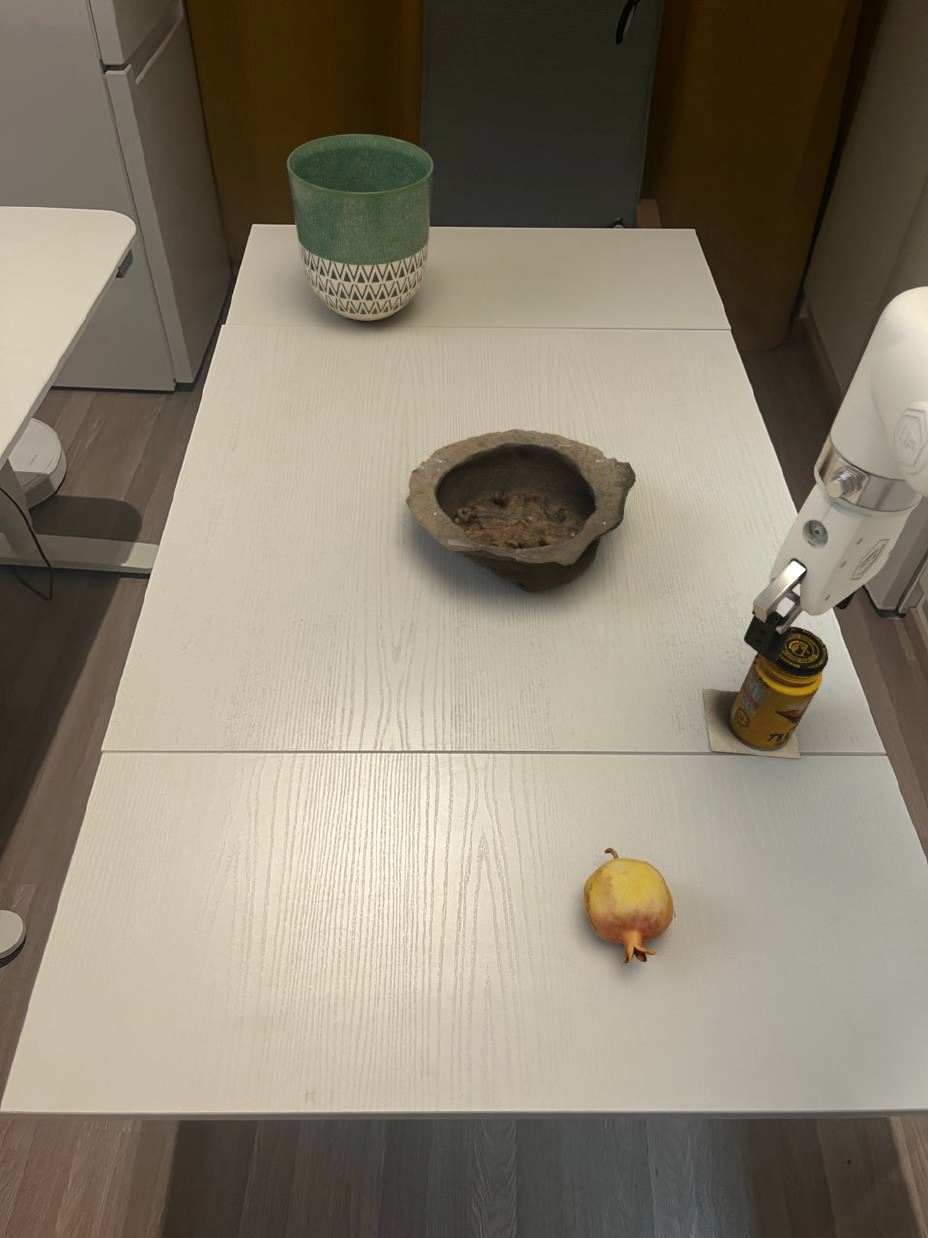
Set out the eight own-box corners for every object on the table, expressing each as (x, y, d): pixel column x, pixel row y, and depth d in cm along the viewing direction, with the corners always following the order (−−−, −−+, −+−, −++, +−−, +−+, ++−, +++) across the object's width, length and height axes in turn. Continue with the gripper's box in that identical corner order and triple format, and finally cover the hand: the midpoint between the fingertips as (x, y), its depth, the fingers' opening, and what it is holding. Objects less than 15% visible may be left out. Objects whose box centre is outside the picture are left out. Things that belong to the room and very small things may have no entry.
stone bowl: (613, 632, 93) (622, 570, 86) (384, 599, 98) (375, 537, 91) (636, 483, 109) (644, 420, 102) (438, 460, 114) (433, 398, 107)
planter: (294, 283, 139) (279, 136, 124) (416, 273, 143) (416, 130, 127) (310, 350, 127) (296, 197, 111) (443, 338, 131) (448, 188, 115)
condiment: (800, 759, 84) (846, 681, 75) (710, 752, 84) (746, 673, 75) (786, 697, 89) (828, 617, 80) (702, 690, 89) (734, 609, 80)
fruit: (571, 829, 72) (589, 951, 65) (657, 816, 71) (684, 939, 64) (581, 868, 77) (598, 985, 70) (661, 856, 76) (687, 974, 69)
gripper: (847, 547, 58) (767, 702, 71) (986, 449, 65) (891, 605, 78) (755, 485, 61) (695, 643, 74) (897, 399, 69) (820, 556, 82)
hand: (795, 624), depth 76 cm, fingers open, 9 cm apart
